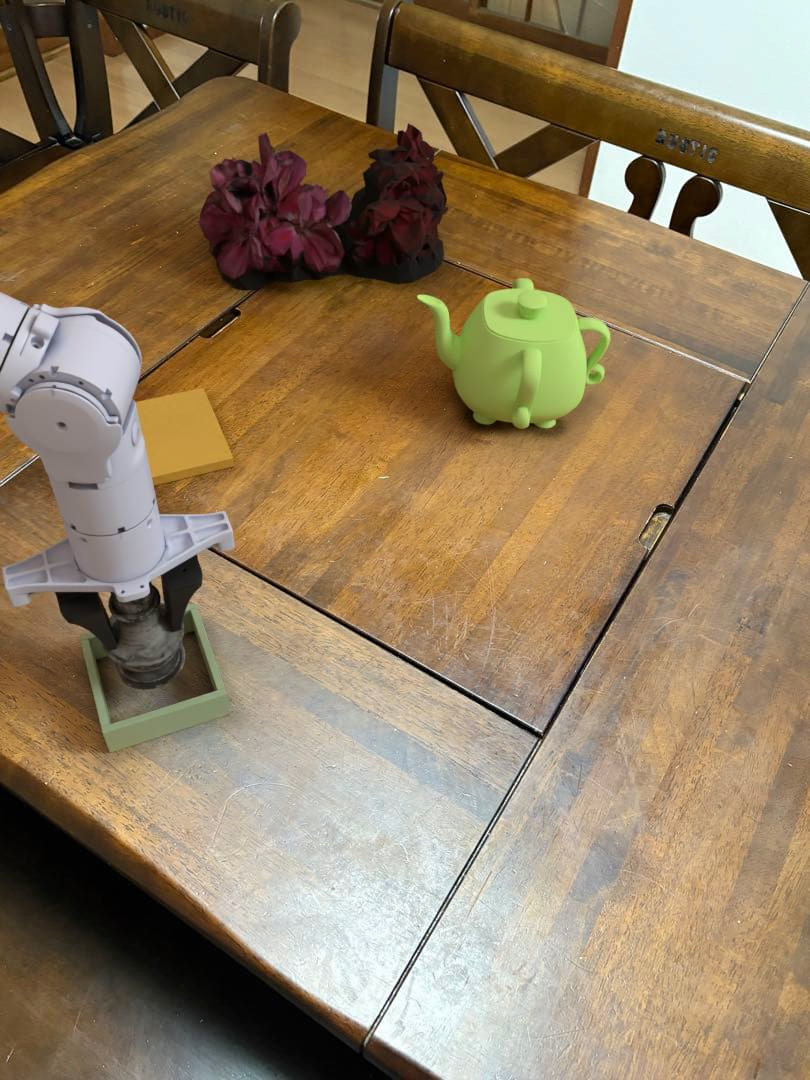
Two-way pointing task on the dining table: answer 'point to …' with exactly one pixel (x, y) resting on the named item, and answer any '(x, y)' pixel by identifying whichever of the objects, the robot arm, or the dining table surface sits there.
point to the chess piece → (145, 642)
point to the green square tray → (166, 717)
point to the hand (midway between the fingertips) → (141, 629)
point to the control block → (182, 436)
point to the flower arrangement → (326, 218)
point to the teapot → (519, 355)
